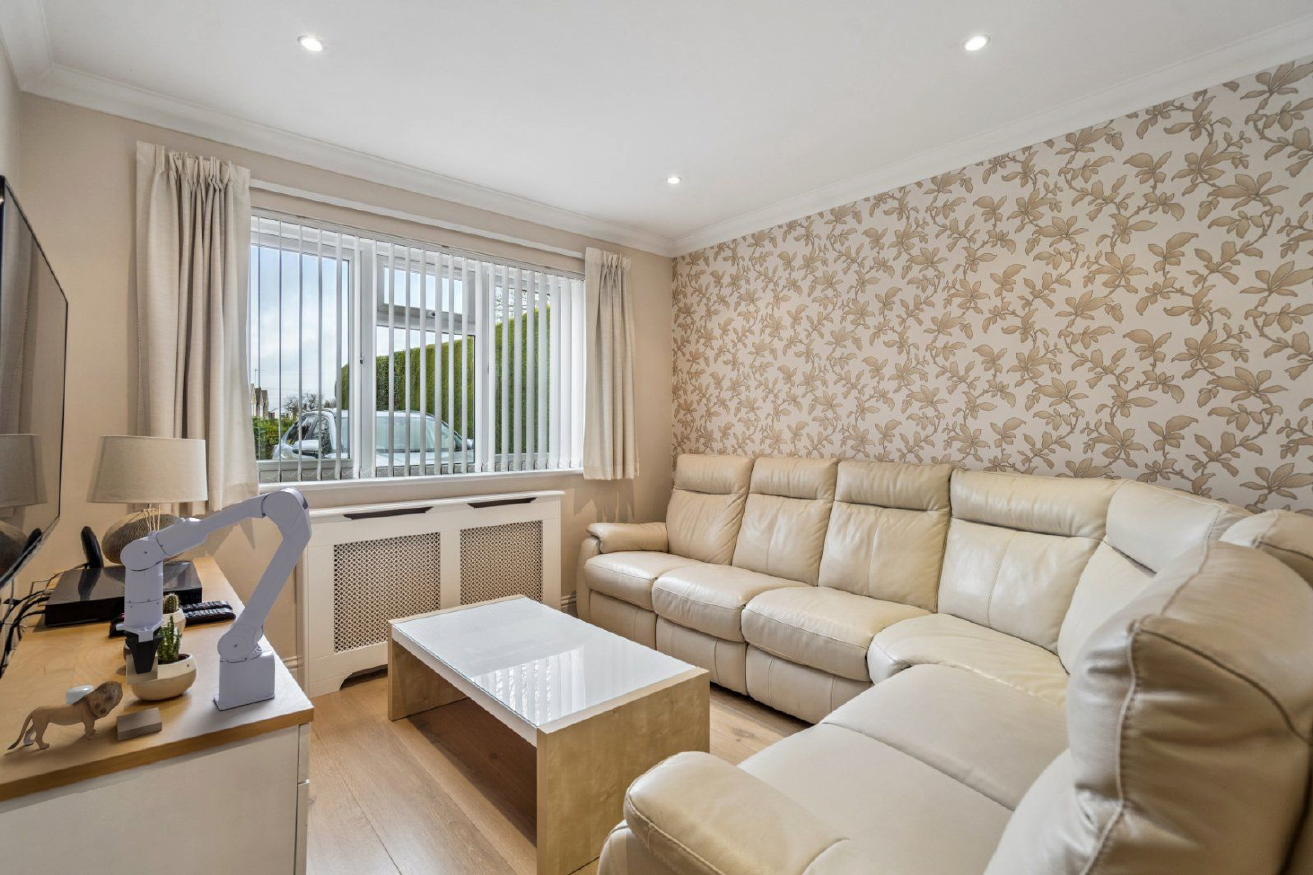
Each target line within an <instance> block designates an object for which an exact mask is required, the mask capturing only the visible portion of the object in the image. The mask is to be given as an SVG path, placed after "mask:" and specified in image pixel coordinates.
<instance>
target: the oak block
mask: <svg viewBox="0 0 1313 875" xmlns="http://www.w3.org/2000/svg"><path fill="white" fill-rule="evenodd" d="M125 657H126V658H125V659H126V660H125V661H126V662H125V665H126V666H125V681H126V685H127V686H129V685H134V684H140V683H143V682H144V683H145V682H149V681H154V680H158V678H159V676H158V674H159V673H158V671H159V670H158V669H159V668H158V664H159V663H158V662H159V659H158V658H159V655H158V650H157V651H156V654H155V658H154V663H153V667H152V670H151V672H148V673H142V674H137V673H136V670H135V666H134V660H133V656H132V653H130V654H126V656H125Z"/></svg>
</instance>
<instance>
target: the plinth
mask: <svg viewBox="0 0 1313 875" xmlns="http://www.w3.org/2000/svg"><path fill="white" fill-rule="evenodd" d="M115 717H116V719H115V721H116V722H115V723H116V732H117V733H116V734H117V741H123V740H128V739H131V738H135V737H140V736H142V735H146V734H150V733H155V732H158V731H162V730H163V719H162V717H161V714H160V709H159V707H158V706H157V707H153V708H149V709H144V710H140V711H135V712H130V713H126V714H122V715H117V716H115Z"/></svg>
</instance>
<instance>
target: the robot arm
mask: <svg viewBox="0 0 1313 875" xmlns="http://www.w3.org/2000/svg"><path fill="white" fill-rule="evenodd" d="M310 515H311V514H310V504H309V502H308V500H307V498H306V497H305V495H304V493H303V492H302V491H301V490H300V489H298V488H296V487H292V486H286V487H282V488H280V489H278V490H276V491H270V492H267V493H263V494H259V495H256V496H253V497H250V498H248V499H245V500H243V501H241V502H238V503H236V504H234V505H232V506H230V507H228V508H225V509H223V510H221V511H219V512H217V513H214V514H212V515H210V516H207V517H206V518H204V519H198V518H196V517H195V518H194V517H187V518H186V519H185V518H184V517H181V518H177V519H175V520H174V524H172V525H169V526H168V527H167V526H166V527H164V528H162V529H159V530H158V531H156V530H154V529H153V530H151V531H149V532H148V533H147V535H146V536H145V537H141V538H138V539H134V540H132V541H131V542H129V543H127V544H126V545H124V547H123V549H121V552H120V556H119V557H120V558H119V559H120V562H121V563H122V564H123V565H124V567H125V578H124V616H123V617H124V621H123V622H124V623H118V624H116V625H115V629H116V631H123V634H124V636H125V638H124V643H125V645H126V646H127V648H128V649H129V651H130V654H132V656H133V660H134V666H135V670H136V673H137V674H142V673H148V672H151V670H152V667H153V663H154V658H155V654H156V651H157V652H158V648H159V646H160V644H161V643H162V641H163V639H164V634H163V633H161V634H159V632H160V631H161V629H162V625H164V623H165V622H164V621H165V620H164V618H163V617H164V616H163V615H164V614H163V612H164V608H163V605H164V603H163V602H164V596H163V595H164V572H163V570H164V560H165V559H169V558H172V557H175V556H178V555H179V554H182V553H184V552H187V551H189V550H191V549H193V548H195V547H198V546H200V545H202V544H204V543H205V542H206V541H207V539H208V537H209V534H211V533H213V532H216V531H218V530H221V529H223V528H226V527H228V526H231V525H233V524H235V523H238V522H240V521H243V520H245V519H248V518H255V519H264V518H266V517H267V518H268V519H269V520H270V521H272V522H273V523H274V524H275V525H276V526H277V528H278V530H279V532H280V534H281V536H282V538H283V540H282V541H281V542H280V544H279V546H278V548H277V550H276V552H275V553H274V554H273V557H272V558H271V560H270V562H269V563H268V566H267V567H266V569H265V571H264V572H263V574H262V576H261V578H260V580H259V581H258V583H257V585H256V586H255V589H253V590H254V591H253V592H252V593H251V596H250V598H249V599H248V601H247V602H246V605H245V606H244V608H243V610H242V611H241V613H240V614H239V616H238V618H237V619H236V621H235V622H233V623H232V624H231V625H230V627H229V628H228V630H227V631H226V633H224V634H222V636H220V638H219V640H218V642H217V646H216V650H217V652H218V655H219V672H218V674H219V675H218V678H219V679H218V694H215V695H214V696H213V699H214V701H215V703H216V705H217V707H218V710H220V711H224V710H228V709H232V708H237V707H240V706H244V705H247V704H253V703H257V702H261V701H264V700H268V699H272V698H273V699H274V698H275V697H276V693H275V692H276V691H275V690H276V689H275V688H276V686H275V685H276V683H275V682H276V679H275V678H276V677H275V676H276V662H275V661H276V660H275V654H274V651H273V650H271V649H269V650H263V649H262V648H261V646H260V644H259V643H258V642H260V640H261V639H262V638H263V636H264V631H265V630H264V626H265V622H266V621H267V619H268V617H269V614H270V612H271V611H272V609H273V606H274V604H275V603H276V602H277V600H278V597H279V596H280V594H281V592H282V590H283V588H284V587H285V585H286V583H287V581H288V579H289V578H290V576H291V574H292V572H293V570H294V569H295V567H296V565H297V564H298V562H299V560H300V558H301V556H302V554H303V553H304V551H305V549H306V547H307V545H308V544H309V542H310V540H311V538H312V535H313V533H312V532H313V531H312V524H311V523H312V522H311V516H310Z"/></svg>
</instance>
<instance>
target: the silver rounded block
mask: <svg viewBox="0 0 1313 875" xmlns="http://www.w3.org/2000/svg"><path fill="white" fill-rule="evenodd" d="M92 691H94V686H93V685H91V684H89V685H88V684H85V685H79V686H75V687H71V688H69V689H67V690H66V691H65V705H66V704H72V703H74V702H76V701H78V700H79V699H80V698H82V697H83V696H84V695H86V694H89V693H90V692H92Z"/></svg>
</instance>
